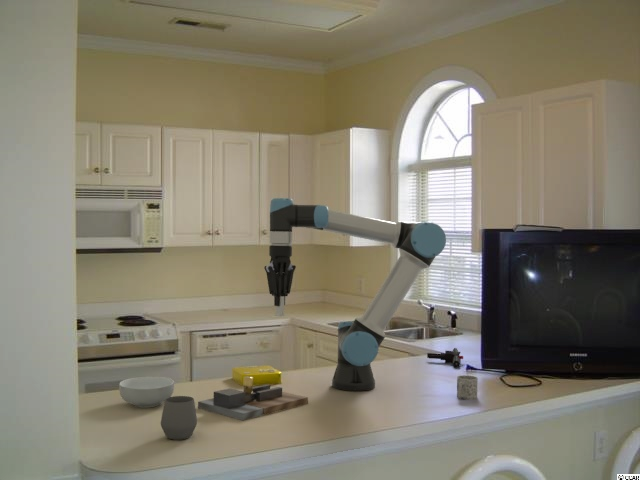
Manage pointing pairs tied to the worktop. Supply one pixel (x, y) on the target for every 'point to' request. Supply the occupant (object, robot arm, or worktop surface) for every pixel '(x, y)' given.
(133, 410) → the worktop surface
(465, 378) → the mug
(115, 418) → the worktop surface
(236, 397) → the bolt housing
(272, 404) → the door and jamb
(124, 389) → the cereal bowl
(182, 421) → the cup
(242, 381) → the element tile
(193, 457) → the worktop surface
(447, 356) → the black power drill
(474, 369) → the worktop surface
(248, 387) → the bolt
